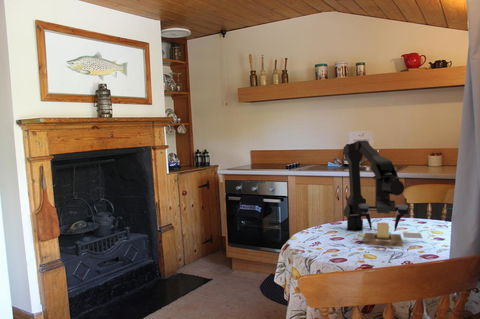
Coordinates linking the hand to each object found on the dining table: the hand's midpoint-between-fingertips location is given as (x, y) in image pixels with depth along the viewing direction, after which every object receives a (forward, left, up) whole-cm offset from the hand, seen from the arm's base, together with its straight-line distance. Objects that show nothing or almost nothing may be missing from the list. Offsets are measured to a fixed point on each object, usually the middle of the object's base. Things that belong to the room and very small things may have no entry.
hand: (383, 229), depth 165 cm
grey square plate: (+12, +11, -6) cm, 17 cm away
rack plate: (0, 0, -6) cm, 6 cm away
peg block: (0, 0, -6) cm, 6 cm away
